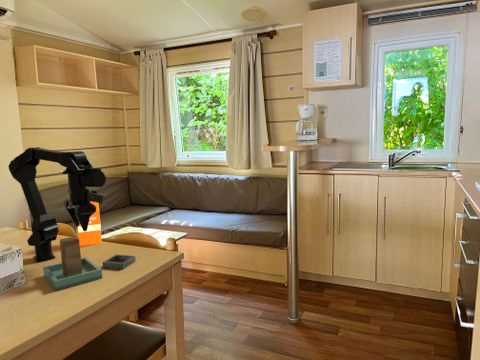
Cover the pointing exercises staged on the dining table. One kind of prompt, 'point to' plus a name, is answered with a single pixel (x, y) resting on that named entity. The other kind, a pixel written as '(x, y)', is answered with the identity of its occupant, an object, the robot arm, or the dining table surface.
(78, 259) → the plate
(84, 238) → the orange juice
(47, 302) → the dining table surface
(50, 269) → the tray
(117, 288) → the dining table surface
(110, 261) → the grey square bin
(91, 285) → the dining table surface
